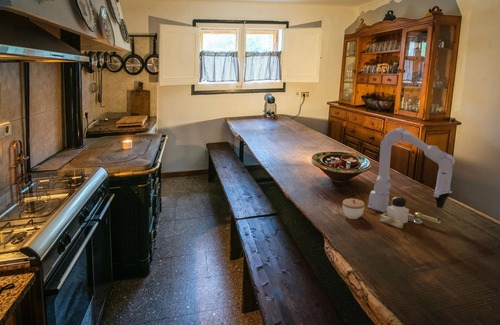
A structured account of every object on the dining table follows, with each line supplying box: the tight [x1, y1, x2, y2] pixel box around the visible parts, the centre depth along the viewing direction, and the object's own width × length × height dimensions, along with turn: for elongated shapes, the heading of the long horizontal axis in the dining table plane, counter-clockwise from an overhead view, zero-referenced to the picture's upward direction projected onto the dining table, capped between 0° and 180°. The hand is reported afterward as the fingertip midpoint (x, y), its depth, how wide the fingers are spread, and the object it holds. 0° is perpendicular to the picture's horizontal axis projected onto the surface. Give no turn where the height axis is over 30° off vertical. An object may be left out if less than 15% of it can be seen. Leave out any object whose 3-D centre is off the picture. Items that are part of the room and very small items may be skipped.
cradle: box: [379, 211, 415, 229], centre depth 170 cm, size 11×12×3 cm
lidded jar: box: [342, 198, 365, 220], centre depth 174 cm, size 11×11×9 cm
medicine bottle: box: [386, 196, 410, 224], centre depth 169 cm, size 7×7×12 cm
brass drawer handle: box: [414, 211, 442, 224], centre depth 165 cm, size 12×3×3 cm, turn 42°
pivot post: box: [411, 217, 423, 225], centre depth 169 cm, size 4×4×2 cm
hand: (439, 207), depth 166 cm, fingers closed
